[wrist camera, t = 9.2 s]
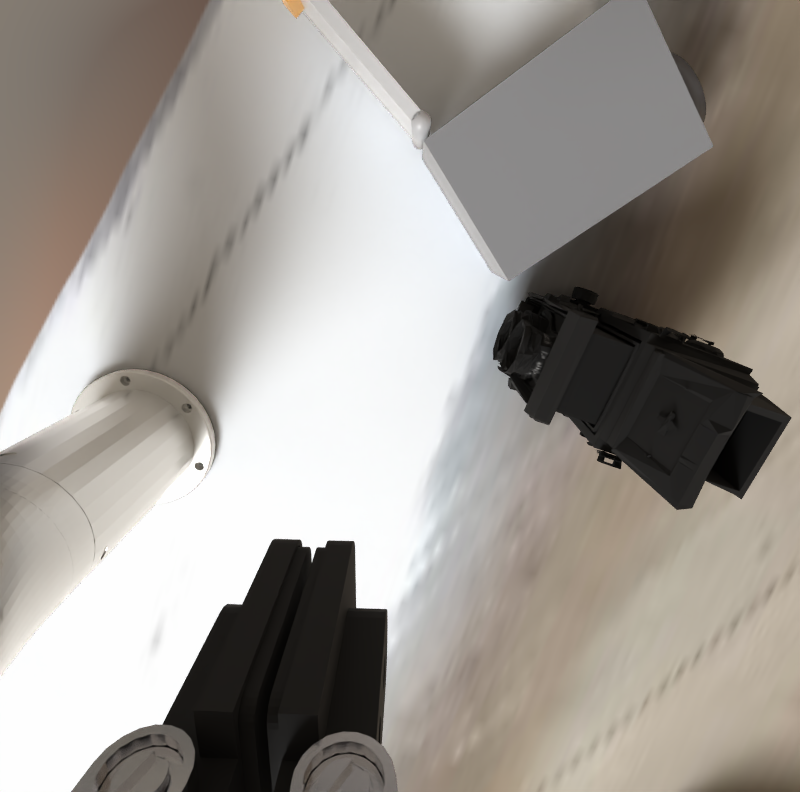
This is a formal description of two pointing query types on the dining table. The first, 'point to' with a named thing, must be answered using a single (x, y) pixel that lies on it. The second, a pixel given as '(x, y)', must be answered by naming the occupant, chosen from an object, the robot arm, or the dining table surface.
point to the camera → (640, 394)
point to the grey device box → (569, 137)
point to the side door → (365, 66)
